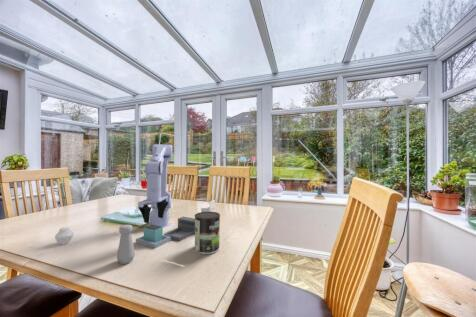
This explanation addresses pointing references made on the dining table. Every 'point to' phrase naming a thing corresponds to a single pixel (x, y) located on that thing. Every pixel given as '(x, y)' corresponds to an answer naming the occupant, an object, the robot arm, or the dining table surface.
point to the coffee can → (207, 232)
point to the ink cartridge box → (209, 207)
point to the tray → (151, 244)
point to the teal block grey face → (153, 233)
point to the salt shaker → (125, 245)
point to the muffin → (64, 236)
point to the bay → (182, 229)
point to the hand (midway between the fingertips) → (153, 220)
